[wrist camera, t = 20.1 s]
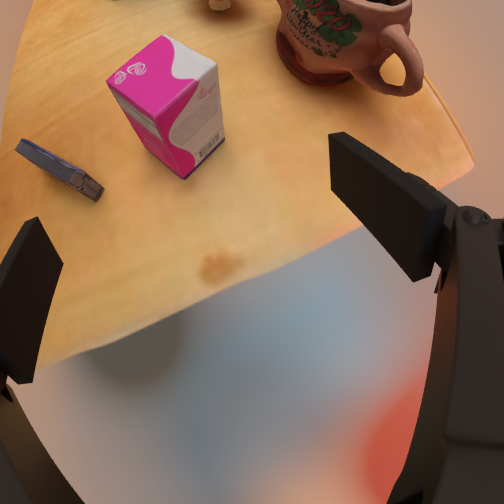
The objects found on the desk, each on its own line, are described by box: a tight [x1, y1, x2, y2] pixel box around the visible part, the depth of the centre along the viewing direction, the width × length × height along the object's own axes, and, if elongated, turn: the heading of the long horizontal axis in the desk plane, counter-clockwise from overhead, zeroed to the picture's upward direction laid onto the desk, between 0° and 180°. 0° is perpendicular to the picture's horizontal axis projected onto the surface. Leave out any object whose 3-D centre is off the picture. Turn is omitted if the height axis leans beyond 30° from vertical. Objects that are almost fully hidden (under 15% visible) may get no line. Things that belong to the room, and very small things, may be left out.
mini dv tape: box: [15, 139, 104, 202], centre depth 26 cm, size 8×2×6 cm, turn 62°
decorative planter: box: [276, 0, 424, 97], centre depth 25 cm, size 20×12×14 cm, turn 34°
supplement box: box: [106, 34, 225, 180], centre depth 24 cm, size 6×6×12 cm
